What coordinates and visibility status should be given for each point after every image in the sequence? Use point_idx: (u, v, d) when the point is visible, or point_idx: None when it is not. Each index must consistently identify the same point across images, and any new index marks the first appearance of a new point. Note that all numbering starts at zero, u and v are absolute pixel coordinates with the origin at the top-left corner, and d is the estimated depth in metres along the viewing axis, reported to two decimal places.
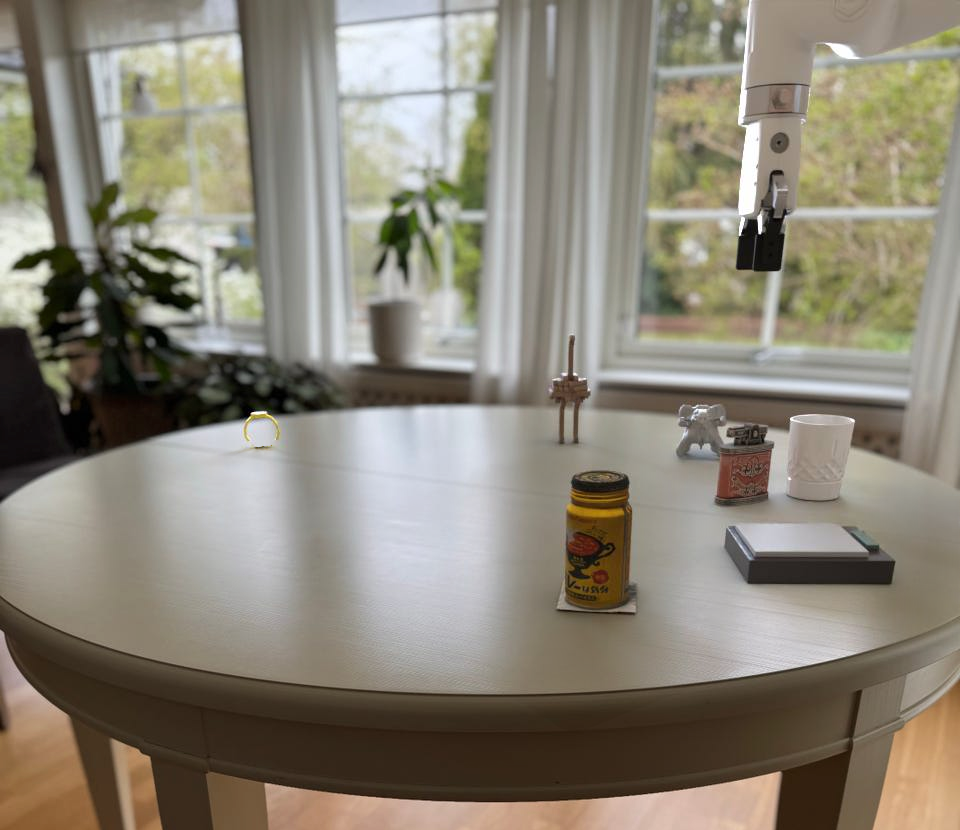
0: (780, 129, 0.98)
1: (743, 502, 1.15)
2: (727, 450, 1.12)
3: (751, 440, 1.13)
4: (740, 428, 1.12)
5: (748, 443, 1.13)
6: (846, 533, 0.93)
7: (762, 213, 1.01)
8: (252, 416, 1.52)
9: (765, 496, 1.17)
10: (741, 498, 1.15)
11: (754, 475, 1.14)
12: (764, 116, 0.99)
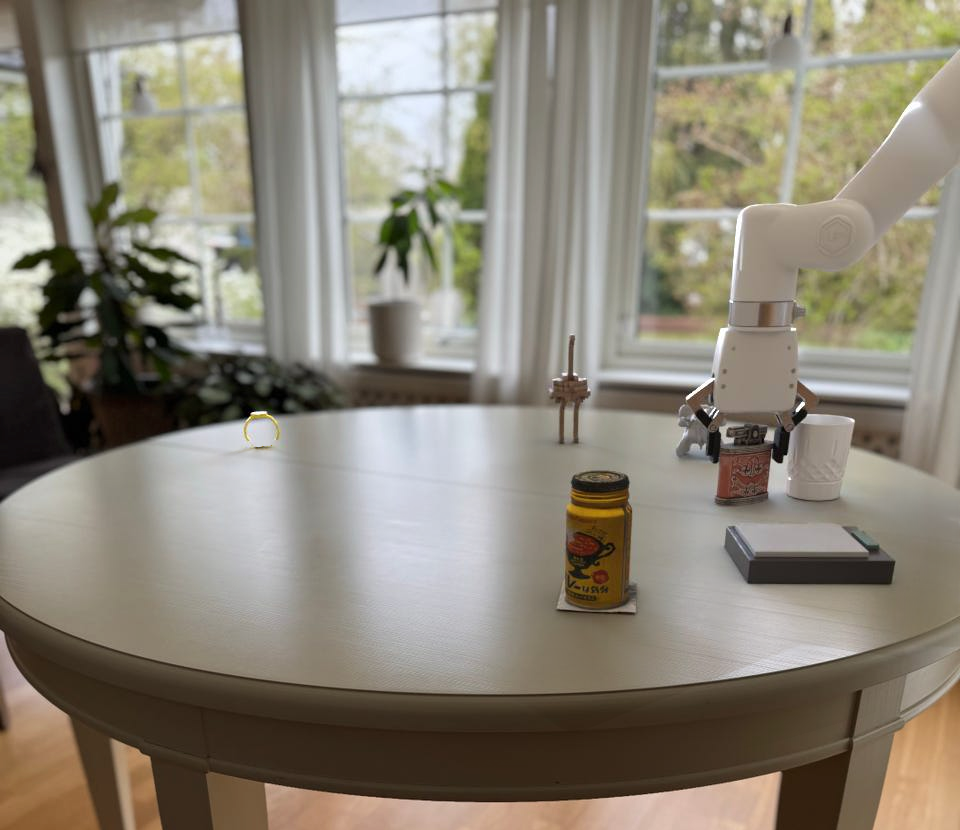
0: None
1: (743, 502, 1.15)
2: (727, 450, 1.12)
3: (751, 440, 1.13)
4: (740, 428, 1.12)
5: (748, 443, 1.13)
6: (846, 533, 0.93)
7: (788, 413, 1.11)
8: (252, 416, 1.52)
9: (765, 496, 1.17)
10: (741, 498, 1.15)
11: (754, 475, 1.14)
12: (790, 327, 1.06)
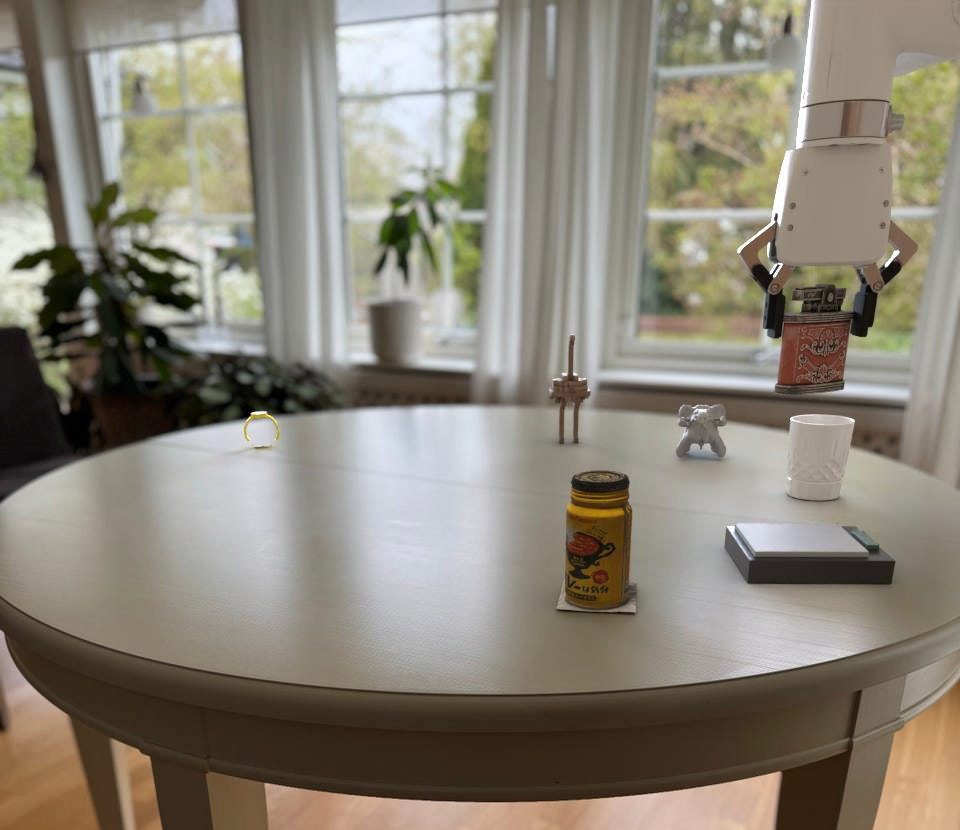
0: None
1: (813, 391, 0.87)
2: (794, 318, 0.84)
3: (825, 306, 0.85)
4: (811, 288, 0.84)
5: (821, 310, 0.85)
6: (846, 533, 0.93)
7: (876, 267, 0.83)
8: (252, 416, 1.52)
9: (841, 385, 0.89)
10: (810, 385, 0.87)
11: (828, 355, 0.87)
12: (884, 141, 0.79)
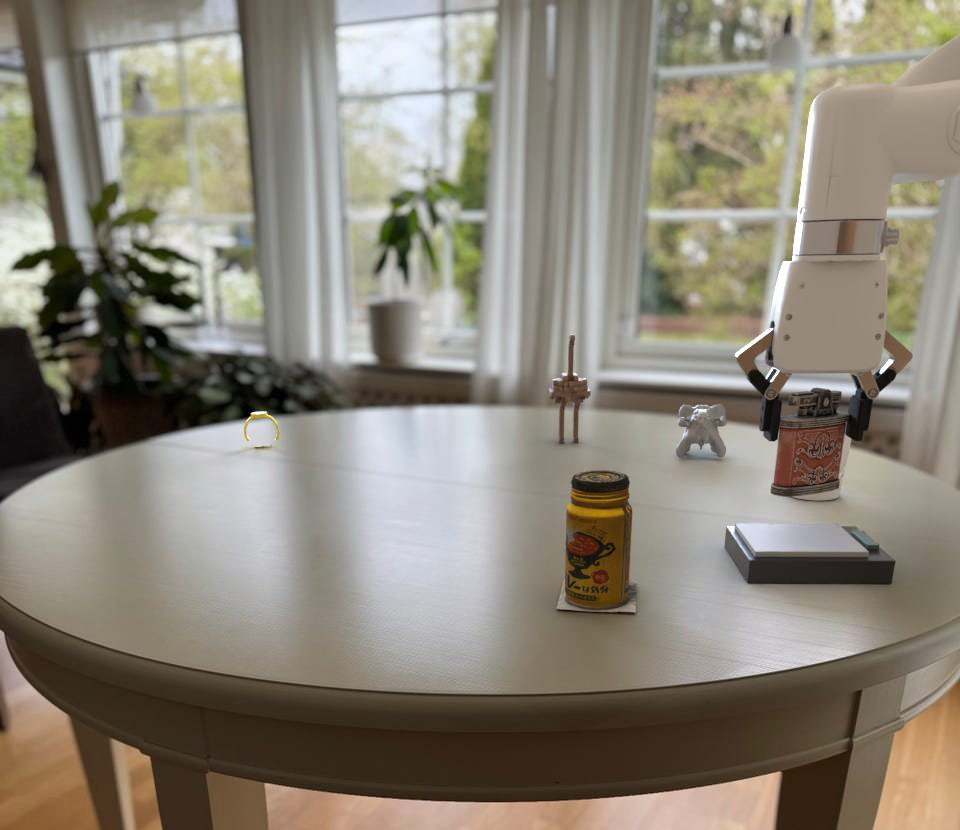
0: None
1: (808, 492, 0.88)
2: (790, 423, 0.85)
3: (820, 410, 0.86)
4: (807, 394, 0.85)
5: (817, 414, 0.86)
6: (846, 533, 0.93)
7: None
8: (252, 416, 1.52)
9: (836, 484, 0.90)
10: (806, 486, 0.88)
11: (823, 457, 0.87)
12: (879, 256, 0.79)
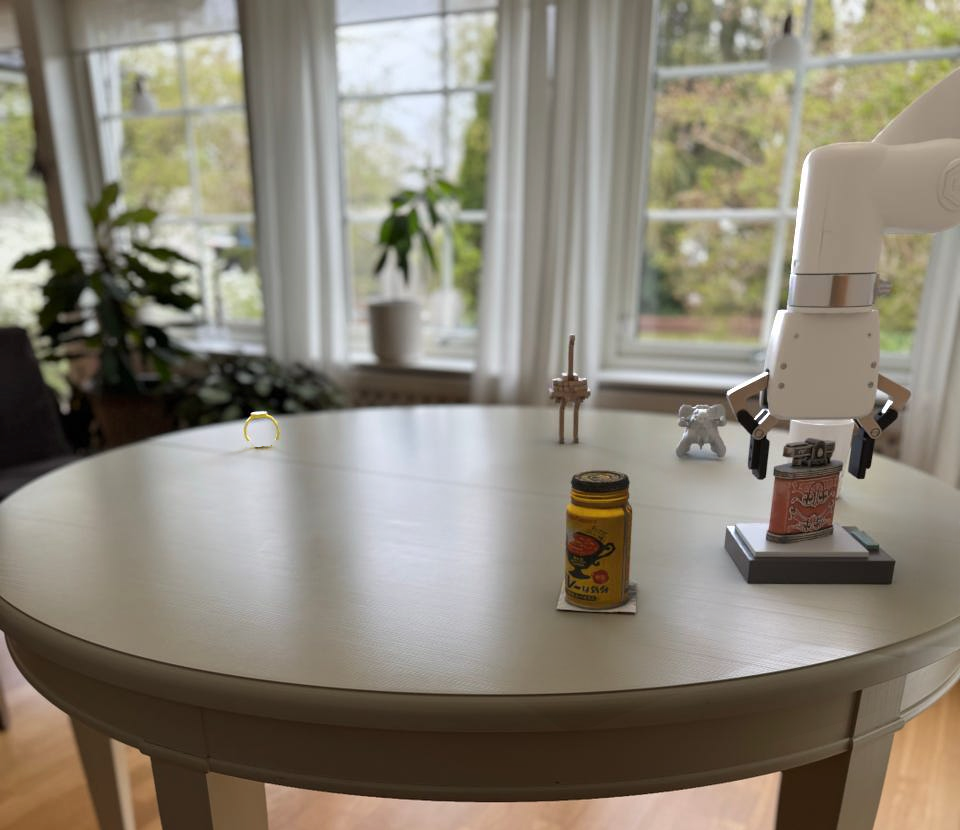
0: None
1: (803, 539, 0.90)
2: (784, 474, 0.87)
3: (814, 460, 0.88)
4: (801, 445, 0.87)
5: (811, 464, 0.88)
6: (846, 533, 0.93)
7: None
8: (252, 416, 1.52)
9: (830, 531, 0.92)
10: (800, 534, 0.90)
11: (817, 505, 0.89)
12: (871, 308, 0.81)
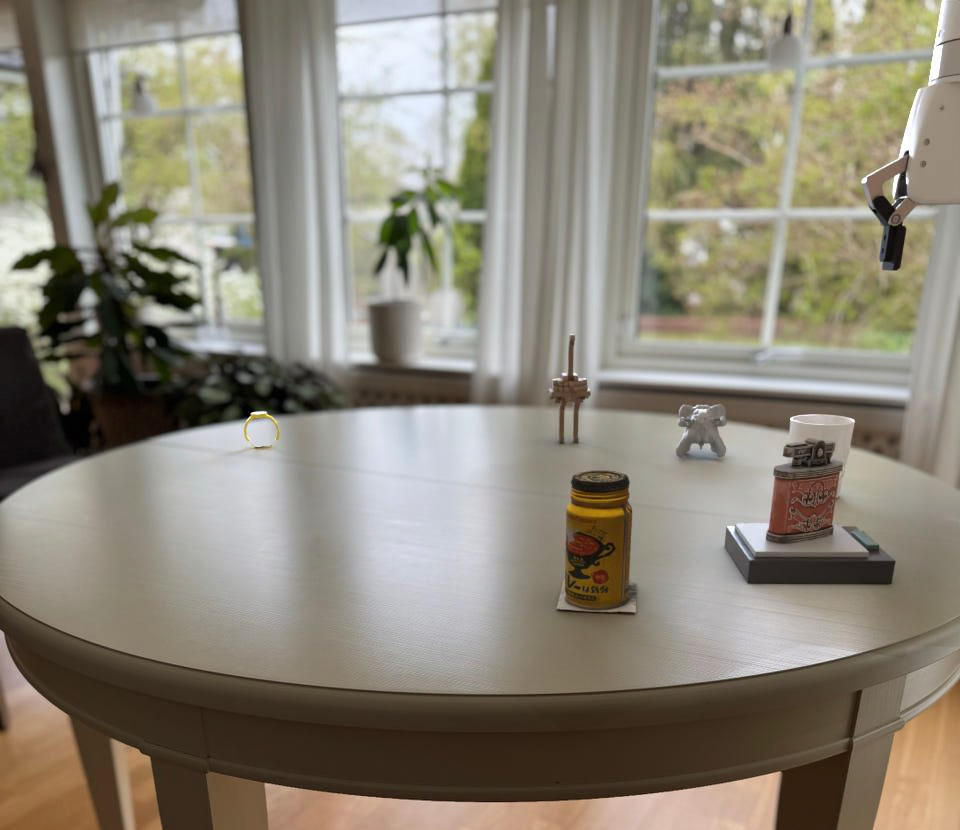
0: None
1: (803, 539, 0.90)
2: (784, 474, 0.87)
3: (814, 460, 0.88)
4: (801, 445, 0.87)
5: (811, 464, 0.88)
6: (846, 533, 0.93)
7: None
8: (252, 416, 1.52)
9: (830, 531, 0.92)
10: (800, 534, 0.90)
11: (817, 505, 0.89)
12: None
